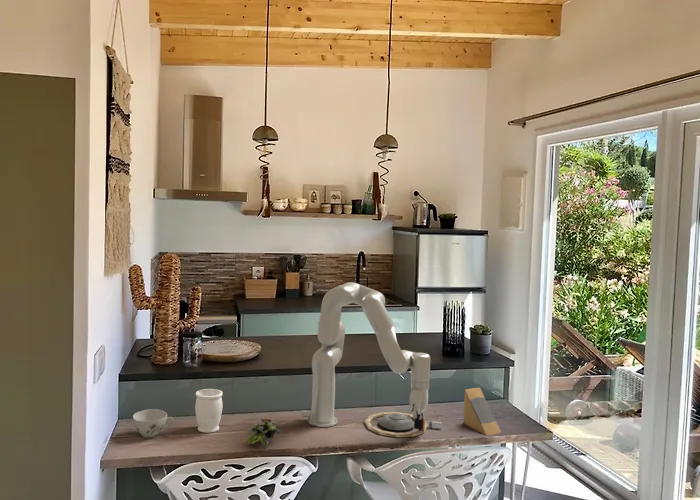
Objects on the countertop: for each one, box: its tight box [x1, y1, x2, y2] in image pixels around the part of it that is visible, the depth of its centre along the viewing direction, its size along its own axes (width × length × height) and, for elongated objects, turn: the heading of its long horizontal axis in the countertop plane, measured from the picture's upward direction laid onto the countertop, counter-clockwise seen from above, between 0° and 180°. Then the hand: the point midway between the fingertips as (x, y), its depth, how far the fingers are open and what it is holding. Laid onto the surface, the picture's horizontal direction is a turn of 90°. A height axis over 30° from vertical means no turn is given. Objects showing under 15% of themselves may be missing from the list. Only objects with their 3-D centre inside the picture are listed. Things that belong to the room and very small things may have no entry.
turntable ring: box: [364, 411, 429, 438], centre depth 253 cm, size 26×26×6 cm
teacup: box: [132, 408, 175, 438], centre depth 233 cm, size 15×12×8 cm
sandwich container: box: [463, 387, 502, 436], centre depth 254 cm, size 9×15×15 cm, turn 28°
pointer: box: [428, 420, 443, 430], centre depth 252 cm, size 5×2×2 cm, turn 86°
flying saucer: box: [378, 413, 414, 432], centre depth 253 cm, size 15×15×6 cm
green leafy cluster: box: [246, 418, 282, 449], centre depth 228 cm, size 11×11×12 cm
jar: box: [194, 388, 223, 434], centre depth 240 cm, size 11×10×15 cm
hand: (418, 428), depth 243 cm, fingers closed
